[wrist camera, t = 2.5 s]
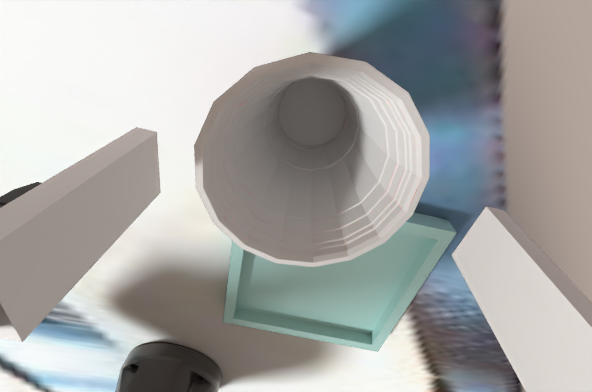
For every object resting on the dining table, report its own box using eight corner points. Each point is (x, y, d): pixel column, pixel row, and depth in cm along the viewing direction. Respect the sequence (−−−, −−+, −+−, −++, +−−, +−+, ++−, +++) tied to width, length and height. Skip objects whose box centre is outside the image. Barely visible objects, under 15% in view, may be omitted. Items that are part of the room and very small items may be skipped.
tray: (375, 336, 38) (377, 351, 36) (227, 308, 37) (222, 322, 35) (448, 219, 27) (456, 232, 26) (244, 175, 26) (239, 186, 25)
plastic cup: (375, 173, 25) (414, 274, 15) (256, 174, 26) (217, 270, 16) (391, 33, 20) (470, 46, 10) (239, 40, 21) (162, 59, 10)
